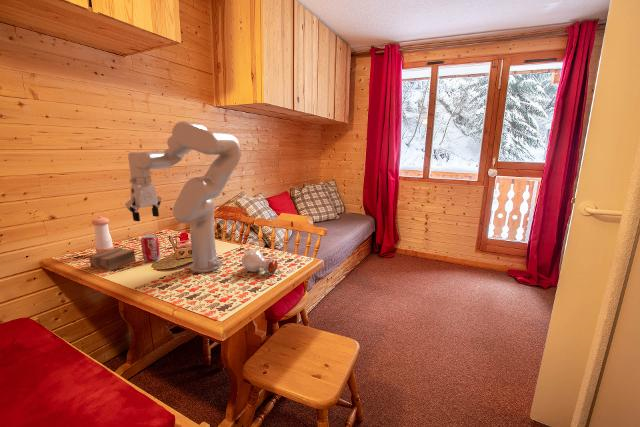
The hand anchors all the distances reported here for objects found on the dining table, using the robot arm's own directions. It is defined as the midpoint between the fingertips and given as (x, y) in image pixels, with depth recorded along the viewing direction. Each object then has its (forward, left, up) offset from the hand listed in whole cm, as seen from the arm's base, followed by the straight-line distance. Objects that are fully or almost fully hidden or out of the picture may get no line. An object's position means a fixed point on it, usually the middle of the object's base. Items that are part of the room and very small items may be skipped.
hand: (146, 218), depth 134 cm
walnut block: (+13, +9, -20) cm, 25 cm away
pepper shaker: (+30, +1, -20) cm, 36 cm away
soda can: (0, 0, -20) cm, 20 cm away
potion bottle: (-54, -6, -20) cm, 58 cm away
